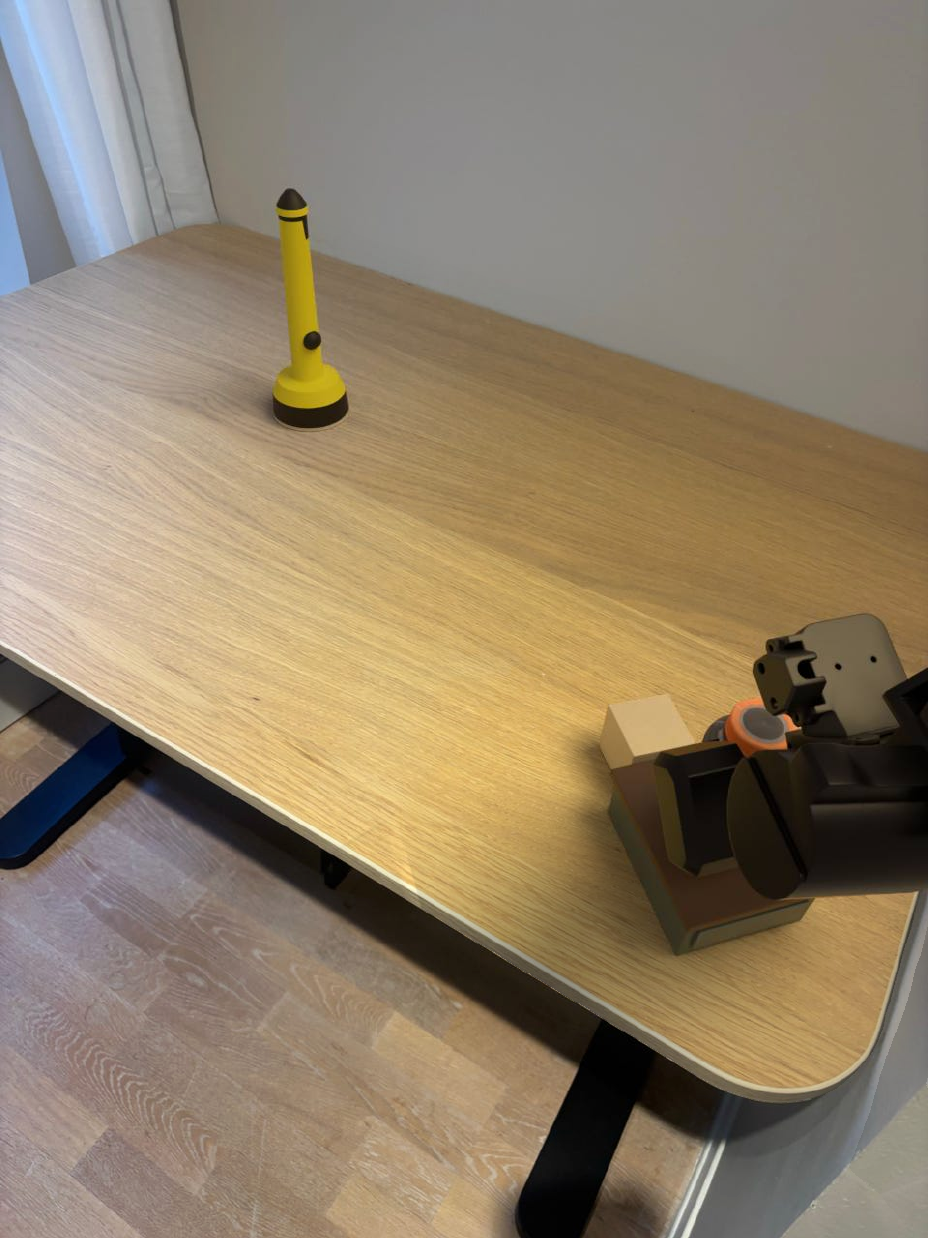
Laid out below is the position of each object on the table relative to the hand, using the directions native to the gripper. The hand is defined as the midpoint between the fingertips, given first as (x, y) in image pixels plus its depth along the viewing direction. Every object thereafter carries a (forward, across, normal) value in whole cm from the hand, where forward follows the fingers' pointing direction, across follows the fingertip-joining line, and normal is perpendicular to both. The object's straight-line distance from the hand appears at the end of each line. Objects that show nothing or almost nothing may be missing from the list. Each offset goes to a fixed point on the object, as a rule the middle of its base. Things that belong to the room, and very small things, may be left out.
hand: (744, 756), depth 54 cm
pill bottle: (+5, 0, +6) cm, 8 cm away
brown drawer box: (+9, 0, +9) cm, 12 cm away
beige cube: (+12, +1, +2) cm, 12 cm away
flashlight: (+56, +18, -38) cm, 70 cm away
